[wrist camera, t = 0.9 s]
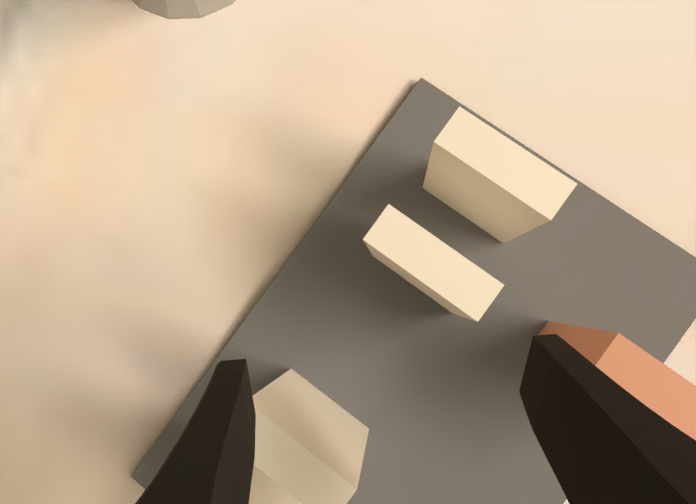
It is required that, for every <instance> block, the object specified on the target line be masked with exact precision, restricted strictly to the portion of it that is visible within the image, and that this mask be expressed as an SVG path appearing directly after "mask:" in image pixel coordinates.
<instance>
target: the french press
mask: <svg viewBox="0 0 696 504" xmlns="http://www.w3.org/2000/svg"><path fill="white" fill-rule="evenodd" d="M133 1H134V2H135V3H136V4H137V5H138V6H139V7H140V8H142V9H144V10H147V11H149V12H152V13H155V14H157V15H160V16H163V17H165V18H168V19H179V18H201V17H204V16H206V15H208V14H210V13H213V12H215V11H217V10H220V9H222V8H224V7H226V6H229V5H231V4H232V3H233V2H234V1H235V0H133Z"/></svg>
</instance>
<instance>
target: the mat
mask: <svg viewBox="0 0 696 504" xmlns="http://www.w3.org/2000/svg"><path fill="white" fill-rule="evenodd" d="M459 106H460V107H461V108H463V109H464V110H466V111H467V112H469V113H471V114H472V115H474V116H475V117H477V118H478V119H480V120H481V121H483V122H484V123H486V124H487V125H489V126H490V127H492V128H493V129H495V130H496V131H498V132H499V133H501V134H502V135H504V136H506V137H507V138H509V139H510V140H512V141H513V142H515V143H516V144H518V145H519V146H521V147H522V148H524V149H525V150H527V151H528V152H530V153H531V154H533V155H534V156H536V157H538V158H539V159H541V160H542V161H544V162H545V163H547V164H548V165H550V166H551V167H553V168H554V169H556V170H557V171H559V172H560V173H562V174H563V175H565V176H566V177H568V178H569V179H571V180H573V181H574V182H576V183H577V185H576V187H575V188H574V189H573V191H572V192H571V194H570V195H569V196H568V198H567V199H566V201H565V202H564V203H563V205H562V206H561V207H560V209H559V210H558V212H557V213H556V214H555V216H554V217H553V219H552V220H551V221H549V222H547V223H545V224H543V225H541V226H539V227H536V228H534V229H532V230H530V231H528V232H526V233H524V234H522V235H520V236H518V237H516V238H513V239H511V240H509V241H507V242H505V243H502V242H500V241H499V240H497V239H496V238H494V237H493V236H492V235H490V234H489V233H487V232H486V231H484V230H483V229H481V228H480V227H479V226H477V225H476V224H474V223H473V222H471V221H470V220H468V219H467V218H465V217H464V216H463V215H461V214H460V213H458V212H457V211H455V210H454V209H452V208H451V207H449V206H448V205H447V204H445V203H444V202H442V201H441V200H439V199H438V198H436V197H435V196H434V195H432V194H431V193H429V192H428V191H426V190H425V189H423V188H422V187H423V183H424V179H425V175H426V171H427V167H428V163H429V159H430V155H431V151H432V147H433V143H434V141H435V139H436V138H437V137H438V135H439V134H440V132H441V131H442V130H443V128H444V127H445V126H446V124H447V123H448V121H449V120H450V119H451V117H452V116H453V115H454V113H455V112H456V110H457V109H458V108H459ZM388 204H390V205H391V206H392V207H394V208H395V209H397V210H398V211H400V212H401V213H402V214H404V215H405V216H407V217H408V218H410V219H411V220H412V221H414V222H415V223H417V224H418V225H420V226H421V227H422V228H424V229H425V230H427V231H428V232H430V233H431V234H432V235H434V236H435V237H437V238H438V239H440V240H441V241H442V242H444V243H445V244H447V245H448V246H450V247H451V248H452V249H454V250H455V251H457V252H458V253H460V254H461V255H462V256H464V257H465V258H467V259H468V260H470V261H471V262H472V263H474V264H475V265H477V266H478V267H480V268H481V269H482V270H484V271H485V272H487V273H488V274H490V275H491V276H492V277H494V278H495V279H497V280H498V281H500V282H501V283H502V284H504V286H503V288H502V289H501V291H500V292H499V293H498V295H497V296H496V298H495V299H494V300H493V302H492V303H491V305H490V306H489V307H488V309H487V310H486V311H485V313H484V314H483V316H482V317H481V318H480V320H479V321H478V322H476V321H473V320H470V319H467V318H464V317H461V316H458V315H456V314H453V313H451V312H450V311H448V310H447V309H446V308H444V307H443V306H441V305H440V304H439V303H437V302H436V301H434V300H433V299H432V298H430V297H429V296H428V295H426V294H425V293H423V292H422V291H421V290H419V289H418V288H416V287H415V286H414V285H412V284H411V283H409V282H408V281H407V280H405V279H404V278H403V277H401V276H400V275H398V274H397V273H396V272H394V271H393V270H391V269H390V268H389V267H387V266H386V265H384V264H383V263H382V262H380V261H379V260H378V259H376V258H375V257H373V256H372V254H371V252H370V251H369V249H368V247H367V246H366V244H365V242H364V241H363V238H364V237H365V236H366V234H367V233H368V231H369V230H370V229H371V227H372V226H373V225H374V223H375V222H376V220H377V219H378V218H379V216H380V215H381V214H382V212H383V211H384V209H385V208H386V207H387V205H388ZM695 318H696V257H694V256H693V255H691V254H689V253H688V252H686V251H685V250H683V249H682V248H680V247H679V246H677V245H676V244H674V243H673V242H671V241H670V240H668V239H667V238H665V237H664V236H662V235H660V234H659V233H657V232H656V231H654V230H653V229H651V228H650V227H648V226H647V225H645V224H644V223H642V222H641V221H639V220H638V219H636V218H635V217H633V216H632V215H630V214H628V213H627V212H625V211H624V210H622V209H621V208H619V207H618V206H616V205H615V204H613V203H612V202H610V201H609V200H607V199H606V198H604V197H603V196H601V195H599V194H598V193H596V192H595V191H593V190H592V189H590V188H589V187H587V186H586V185H584V184H583V183H581V182H580V181H578V180H577V179H575V178H574V177H572V176H571V175H569V174H567V173H566V172H564V171H563V170H561V169H560V168H558V167H557V166H555V165H554V164H552V163H551V162H549V161H548V160H546V159H545V158H543V157H542V156H540V155H538V154H537V153H535V152H534V151H532V150H531V149H529V148H528V147H526V146H525V145H523V144H522V143H520V142H519V141H517V140H516V139H514V138H513V137H511V136H510V135H508V134H506V133H505V132H503V131H502V130H500V129H499V128H497V127H496V126H494V125H493V124H491V123H490V122H488V121H487V120H485V119H484V118H482V117H481V116H479V115H477V114H476V113H474V112H473V111H471V110H470V109H468V108H467V107H465V106H464V105H462V104H461V103H459V102H458V101H456V100H455V99H453V98H452V97H450V96H449V95H447V94H445V93H444V92H442V91H441V90H439V89H438V88H436V87H435V86H433V85H432V84H430V83H429V82H427V81H426V80H424V79H423V78H420V80H419V81H418V83H417V84H416V85H415V87H414V88H413V89H412V91H411V92H410V94H409V95H408V96H407V98H406V99H405V100H404V102H403V103H402V105H401V106H400V107H399V109H398V110H397V111H396V113H395V114H394V116H393V117H392V118H391V120H390V121H389V122H388V124H387V125H386V126H385V128H384V129H383V131H382V132H381V133H380V135H379V136H378V137H377V139H376V140H375V142H374V143H373V144H372V146H371V147H370V148H369V150H368V151H367V153H366V154H365V155H364V157H363V158H362V159H361V161H360V162H359V164H358V165H357V166H356V168H355V169H354V170H353V172H352V173H351V175H350V176H349V177H348V179H347V180H346V181H345V183H344V184H343V186H342V187H341V188H340V190H339V191H338V192H337V194H336V195H335V196H334V198H333V199H332V201H331V202H330V203H329V205H328V206H327V207H326V209H325V210H324V212H323V213H322V214H321V216H320V217H319V218H318V220H317V221H316V223H315V224H314V225H313V227H312V228H311V229H310V231H309V232H308V234H307V235H306V236H305V238H304V239H303V240H302V242H301V243H300V245H299V246H298V247H297V249H296V250H295V251H294V253H293V254H292V256H291V257H290V258H289V260H288V261H287V262H286V264H285V265H284V266H283V268H282V269H281V271H280V272H279V273H278V275H277V276H276V277H275V279H274V280H273V282H272V283H271V284H270V286H269V287H268V288H267V290H266V291H265V293H264V294H263V295H262V297H261V298H260V299H259V301H258V302H257V304H256V305H255V306H254V308H253V309H252V310H251V312H250V313H249V315H248V316H247V317H246V319H245V320H244V321H243V323H242V324H241V326H240V327H239V328H238V330H237V331H236V332H235V334H234V335H233V336H232V338H231V339H230V341H229V342H228V343H227V345H226V346H225V347H224V349H223V350H222V352H221V353H220V354H219V356H218V357H217V358H216V360H215V361H214V363H213V364H212V365H211V367H210V368H209V369H208V371H207V372H206V374H205V375H204V376H203V378H202V379H201V380H200V382H199V383H198V385H197V386H196V387H195V389H194V390H193V391H192V393H191V394H190V396H189V397H188V398H187V400H186V401H185V402H184V404H183V405H182V406H181V408H180V409H179V411H178V412H177V413H176V415H175V416H174V417H173V419H172V420H171V422H170V423H169V424H168V426H167V427H166V428H165V430H164V431H163V433H162V434H161V435H160V437H159V438H158V439H157V441H156V442H155V444H154V445H153V446H152V448H151V449H150V450H149V452H148V453H147V455H146V456H145V457H144V459H143V460H142V461H141V463H140V464H139V466H138V467H137V468H136V470H135V471H134V472H133V474H132V475H131V477H132V478H134V479H135V480H136V481H137V482H138V483H139V484H141V485H142V486H143V487H144V488H145V489H147V487H148V486H149V484H150V483H151V481H152V480H153V478H154V477H155V476H156V474H157V473H158V471H159V470H160V468H161V466H162V465H163V463H164V462H165V460H166V459H167V457H168V455H169V454H170V452H171V451H172V449H173V448H174V446H175V444H176V443H177V441H178V440H179V438H180V436H181V434H182V433H183V431H184V429H185V427H186V426H187V424H188V422H189V420H190V418H191V417H192V415H193V413H194V411H195V410H196V408H197V406H198V404H199V402H200V400H201V398H202V396H203V394H204V392H205V390H206V388H207V386H208V384H209V382H210V379H211V377H212V375H213V373H214V370H215V368H216V365H217V364H218V363H219V362H220V361H224V360H236V359H246V361H247V367H248V372H249V378H250V384H251V390H252V396H253V395H254V394H256V393H257V392H258V391H260V390H261V389H263V388H264V387H266V386H267V385H268V384H270V383H271V382H273V381H274V380H275V379H277V378H278V377H280V376H281V375H283V374H284V373H285V372H287V371H288V370H290V369H293V370H294V371H295V372H296V373H298V374H299V375H300V376H302V377H303V378H304V379H306V380H307V381H308V382H309V383H311V384H312V385H313V386H315V387H316V388H317V389H318V390H320V391H321V392H322V393H324V394H325V395H326V396H327V397H329V398H330V399H331V400H333V401H334V402H335V403H337V404H338V405H339V406H340V407H342V408H343V409H344V410H346V411H347V412H348V413H349V414H351V415H352V416H353V417H355V418H356V419H357V420H358V421H360V422H361V423H362V424H364V425H365V426H366V427H368V428H369V432H368V437H367V442H366V447H365V452H364V457H363V462H362V468H361V473H360V478H359V483H358V488H357V490H356V492H355V493H354V494H353V496H352V497H351V499H350V500H349V501H348V503H347V504H563V503H564V502H565V500H566V499H567V498H566V496H565V494H564V492H563V490H562V488H561V486H560V484H559V482H558V480H557V478H556V476H555V474H554V472H553V470H552V468H551V466H550V464H549V462H548V460H547V458H546V456H545V454H544V452H543V450H542V448H541V446H540V444H539V442H538V440H537V438H536V436H535V434H534V432H533V430H532V427H531V424H530V422H529V419H528V416H527V414H526V411H525V408H524V405H523V402H522V399H521V396H520V393H519V390H520V386H521V382H522V378H523V374H524V370H525V366H526V362H527V357H528V353H529V349H530V345H531V341H532V337H533V336H535V335H539V333H540V332H541V330H542V329H543V328H544V326H545V325H546V323H547V322H548V321H553V322H558V323H564V324H570V325H576V326H582V327H587V328H593V329H599V330H605V331H611V332H617V333H620V334H621V335H623V336H624V337H625V338H627V339H628V340H630V341H631V342H633V343H634V344H636V345H637V346H638V347H640V348H641V349H643V350H644V351H646V352H647V353H649V354H650V355H651V356H653V357H654V358H656V359H657V360H659V361H660V362H662V363H664V362H665V360H666V359H667V358H668V356H669V355H670V353H671V352H672V351H673V349H674V348H675V346H676V345H677V344H678V342H679V341H680V339H681V338H682V337H683V335H684V334H685V332H686V331H687V330H688V328H689V327H690V325H691V324H692V323H693V321H694V320H695Z"/></svg>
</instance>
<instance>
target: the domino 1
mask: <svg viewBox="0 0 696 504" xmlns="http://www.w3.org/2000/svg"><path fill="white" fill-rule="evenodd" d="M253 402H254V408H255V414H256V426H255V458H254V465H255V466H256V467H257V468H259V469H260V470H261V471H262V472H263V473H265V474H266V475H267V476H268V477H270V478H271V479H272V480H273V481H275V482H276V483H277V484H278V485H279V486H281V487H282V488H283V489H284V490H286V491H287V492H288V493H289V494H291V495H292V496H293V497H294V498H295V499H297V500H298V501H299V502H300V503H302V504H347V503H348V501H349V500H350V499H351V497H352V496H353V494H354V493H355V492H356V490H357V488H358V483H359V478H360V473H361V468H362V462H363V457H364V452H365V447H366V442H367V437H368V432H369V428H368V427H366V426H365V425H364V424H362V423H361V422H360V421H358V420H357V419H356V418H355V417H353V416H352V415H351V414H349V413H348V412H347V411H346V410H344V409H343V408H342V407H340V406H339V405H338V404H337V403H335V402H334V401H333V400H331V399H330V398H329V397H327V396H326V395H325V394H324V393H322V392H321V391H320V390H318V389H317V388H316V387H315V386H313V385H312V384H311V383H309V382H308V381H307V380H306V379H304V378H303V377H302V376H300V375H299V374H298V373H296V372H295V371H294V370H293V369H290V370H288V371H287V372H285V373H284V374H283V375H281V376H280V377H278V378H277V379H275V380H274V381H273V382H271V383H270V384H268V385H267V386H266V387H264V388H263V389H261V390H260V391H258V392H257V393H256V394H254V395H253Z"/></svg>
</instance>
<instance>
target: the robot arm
mask: <svg viewBox="0 0 696 504" xmlns="http://www.w3.org/2000/svg"><path fill="white" fill-rule="evenodd" d="M519 393H520V396H521V399H522V402H523V405H524V408H525V411H526V414H527V416H528V419H529V422H530V424H531V427H532V430H533V432H534V434H535V436H536V438H537V440H538V442H539V444H540V446H541V448H542V450H543V452H544V454H545V456H546V458H547V460H548V462H549V464H550V466H551V468H552V470H553V472H554V474H555V476H556V478H557V480H558V482H559V484H560V486H561V488H562V490H563V492H564V494H565V496H566V498H567V500H568V502H569V504H696V440H694V439H693V438H691V437H690V436H688V435H687V434H685V433H684V432H682V431H681V430H679V429H678V428H676V427H675V426H673V425H672V424H671V423H669V422H668V421H666V420H665V419H664V418H662V417H661V416H660V415H658V414H657V413H655V412H654V411H653V410H651V409H650V408H648V407H647V406H646V405H644V404H643V403H642V402H640V401H639V400H638V399H636V398H635V397H634V396H633V395H631V394H630V393H629V392H627V391H626V390H625V389H624V388H622V387H621V386H620V385H618V384H617V383H616V382H615V381H613V380H612V379H611V378H610V377H608V376H607V375H606V374H605V373H604V372H602V371H601V370H600V369H599V368H597V367H596V366H595V365H594V364H593V363H591V362H590V361H589V360H588V359H587V358H585V357H584V356H583V355H582V354H580V353H579V352H578V351H577V350H576V349H574V348H573V347H572V346H571V345H570V344H568V343H567V342H566V341H565V340H563V339H562V338H561V337H560V336H558V335H557V334H547V335H535V336H533V337H532V341H531V345H530V349H529V353H528V357H527V362H526V366H525V370H524V374H523V378H522V382H521V386H520V390H519ZM255 426H256V414H255V408H254V402H253V396H252V390H251V384H250V378H249V372H248V367H247V361H246V359H236V360H224V361H220V362H219V363H218V364H217V365H216V368H215V370H214V373H213V375H212V377H211V379H210V382H209V384H208V386H207V388H206V390H205V392H204V394H203V396H202V398H201V400H200V402H199V404H198V406H197V408H196V410H195V411H194V413H193V415H192V417H191V418H190V420H189V422H188V424H187V426H186V427H185V429H184V431H183V433H182V434H181V436H180V438H179V440H178V441H177V443H176V444H175V446H174V448H173V449H172V451H171V452H170V454H169V455H168V457H167V459H166V460H165V462H164V463H163V465H162V466H161V468H160V470H159V471H158V473H157V474H156V476H155V477H154V478H153V480H152V481H151V483H150V484H149V486H148V487H147V489H146V490H145V491H144V493H143V494H142V496H141V497H140V498H139V500H138V501H137V502H136V504H249V497H250V489H251V481H252V474H253V466H254V458H255Z"/></svg>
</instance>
